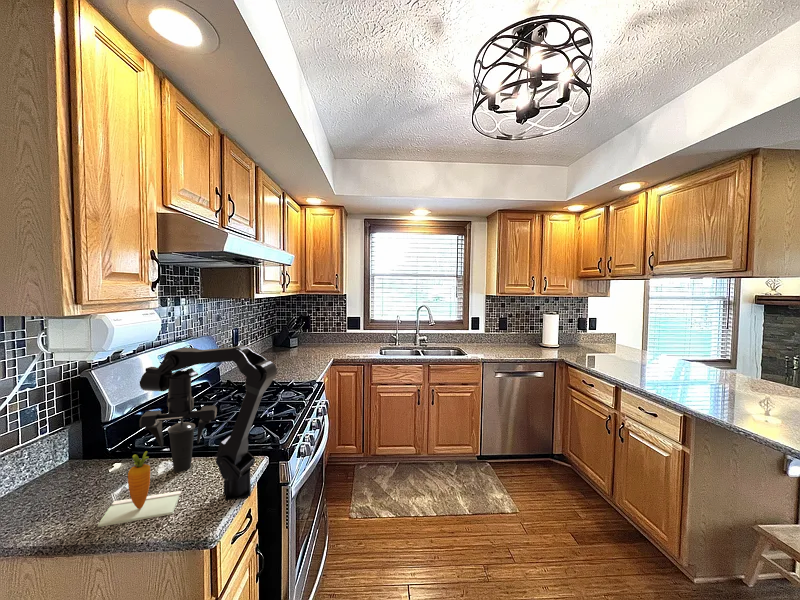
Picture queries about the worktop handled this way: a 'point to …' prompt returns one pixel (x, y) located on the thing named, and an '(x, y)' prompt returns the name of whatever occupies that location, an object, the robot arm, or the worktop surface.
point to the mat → (139, 511)
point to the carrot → (139, 480)
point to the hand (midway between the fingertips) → (180, 444)
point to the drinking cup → (181, 445)
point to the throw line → (148, 498)
